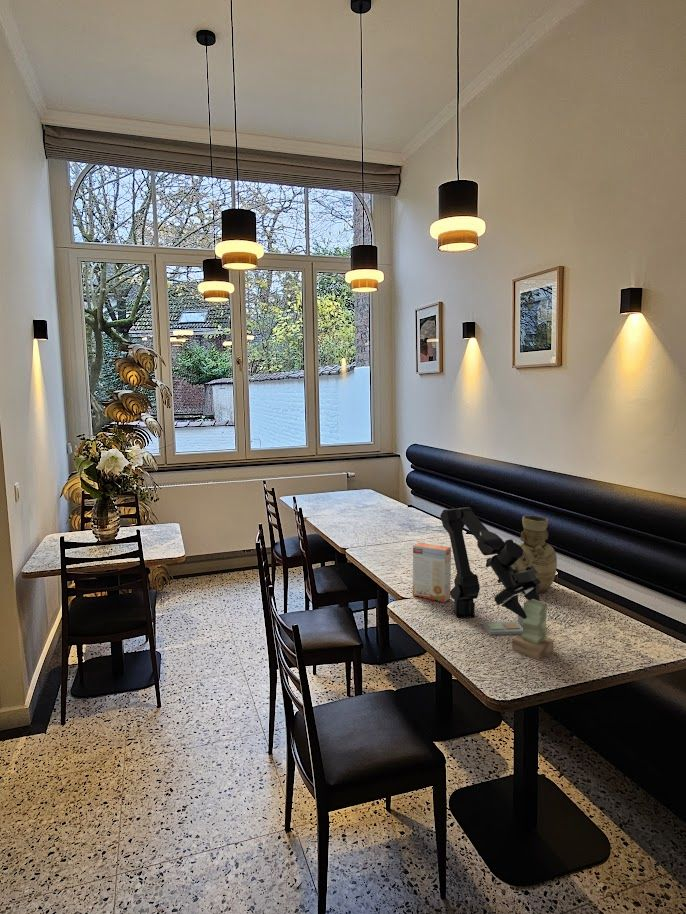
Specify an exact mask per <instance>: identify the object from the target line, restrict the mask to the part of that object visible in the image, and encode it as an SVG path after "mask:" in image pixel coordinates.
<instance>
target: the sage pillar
mask: <svg viewBox="0 0 686 914" xmlns="http://www.w3.org/2000/svg"><path fill="white" fill-rule="evenodd" d="M523 607H524V612H525V614H526V616H527V618H526V619H523V627H522V629H523V637H522V639H523V640H526V641H529V642H531V643H534V644H538V643H540V642H542V641H544V640H545V638H546V636H547V635H546V633H547V616H548V615H547V613H548V612H547V611H548V603H547V602H544V601H541V600H540V601H538V600H535V599H531V600H529V601H528V600H527V601H524V602H523Z"/></svg>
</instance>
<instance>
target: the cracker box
mask: <svg viewBox="0 0 686 914" xmlns="http://www.w3.org/2000/svg"><path fill="white" fill-rule="evenodd" d="M451 570H452V546H445V545H444V546H443V545H439V544H430V543H425V542H417V543H416V544H413V545H412V596H413V597H416V596H419V597H418V598H421V597H424V598H423V599H426V598H429V599H428V600H431V599H433V600H432V601H435V600H438V601H437V602H440V601H441V602H440V603H446V602H447V601H448V600H450V599H451V596H450V591H451V590H452V589H451V586H452V585H451V584H452V583H451V582H452V581H451V580H452V579H451V576H452V575H451V574H452V573H451Z"/></svg>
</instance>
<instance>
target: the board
mask: <svg viewBox="0 0 686 914" xmlns="http://www.w3.org/2000/svg"><path fill="white" fill-rule="evenodd" d="M482 626H484V627H483V628H484V629H485V631H486V632H487V633H488V635H489V636H495V635H496V636H497V635H499V636H500V635H521V634H523V627H522V626H521V625H520V624H519V623H518V621H491V622H490V621H489V622H488V621H487V622H482Z"/></svg>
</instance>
